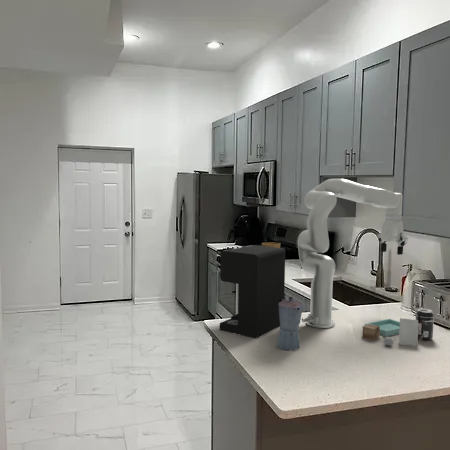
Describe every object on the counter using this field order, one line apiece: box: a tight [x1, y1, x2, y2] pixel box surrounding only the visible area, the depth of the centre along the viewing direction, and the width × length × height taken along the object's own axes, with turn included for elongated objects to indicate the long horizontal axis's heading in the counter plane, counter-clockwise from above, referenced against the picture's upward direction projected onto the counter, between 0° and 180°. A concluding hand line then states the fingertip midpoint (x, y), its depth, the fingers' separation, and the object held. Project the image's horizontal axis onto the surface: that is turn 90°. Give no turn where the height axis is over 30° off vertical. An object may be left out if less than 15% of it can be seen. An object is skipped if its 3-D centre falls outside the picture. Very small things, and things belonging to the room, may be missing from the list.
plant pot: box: [261, 242, 281, 248], centre depth 369 cm, size 15×15×16 cm
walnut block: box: [361, 324, 380, 342], centre depth 190 cm, size 5×5×5 cm
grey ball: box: [383, 336, 394, 347], centre depth 181 cm, size 4×4×4 cm
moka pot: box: [277, 296, 304, 352], centre depth 178 cm, size 10×15×20 cm, turn 27°
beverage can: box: [415, 308, 435, 341], centre depth 190 cm, size 7×7×12 cm
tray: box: [364, 318, 400, 338], centre depth 201 cm, size 16×12×2 cm
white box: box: [398, 317, 419, 347], centre depth 184 cm, size 4×7×10 cm, turn 71°
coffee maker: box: [219, 244, 287, 340], centre depth 203 cm, size 28×20×35 cm
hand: (391, 253), depth 225 cm, fingers open, 9 cm apart
